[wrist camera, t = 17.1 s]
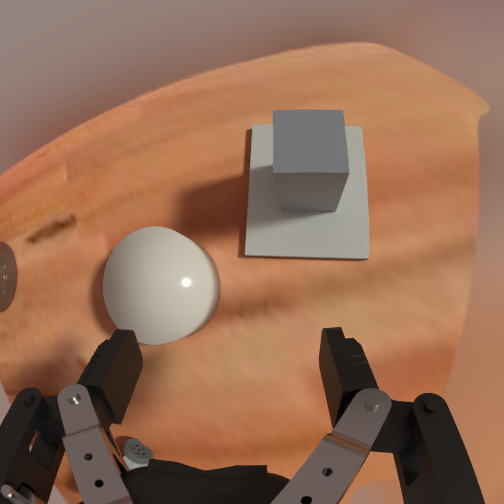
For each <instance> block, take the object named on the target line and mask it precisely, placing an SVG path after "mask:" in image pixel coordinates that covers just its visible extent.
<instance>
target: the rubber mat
mask: <svg viewBox="0 0 504 504" xmlns="http://www.w3.org/2000/svg"><path fill="white" fill-rule="evenodd" d="M345 132H346V141H347V151H348V161H349V172H350V173H349V176H348V179H347V182H346V185H345V187H344V190H343V193H342V196H341V199H340V201H339V204H338V207H337V210H336V212H315V211H299V212H282V210H281V205H280V201H279V197H278V192H277V188H276V184H275V180H274V175H273V124H266V125H253V127H252V143H251V160H250V176H249V193H248V210H247V227H246V245H245V255H246V256H267V257H300V258H335V259H369V214H368V193H367V177H366V164H365V153H364V143H363V134H362V127H360V126H345Z"/></svg>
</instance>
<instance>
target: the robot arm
mask: <svg viewBox="0 0 504 504" xmlns="http://www.w3.org/2000/svg"><path fill="white" fill-rule="evenodd" d="M16 276H17V271H16V262H15V257H14V254H13V251H12V250H11V248H10V247H9V246H8V245H7V244H5V243H3V242H0V312H2V311H4V310H6V309H7V308H8V306H9V305H10V303H11V301H12V298H13V296H14V292H15V287H16ZM93 355H94V356H92V358H91V359H90V362H89V363H88V364H87V366H86V368H85V370H84V371H83V373H82V375H81V377H80V378H79V380H78V382H77V384H73V385H69V386H67V387H65V388H64V389H62V390H61V392H60V393H59V395H58V396H46V397H43V395H42V394H41V392H40V391H39V390H38V389H37V388H26V389H24V390H22V391H21V392H20V393H19V394H18V395H17V397H16V398H15V400H14V402H13V404H12V405H11V407H10V409H9V411H8V413H7V414H6V416H5V418H4V420H3V422H2V424H1V426H0V504H47V503H48V500H49V497H50V493H51V490H52V487H53V484H54V481H55V478H56V475H57V472H58V469H59V466H60V463H61V460H62V458H63V455H64V452H65V450H66V453H67V457H68V460H69V463H70V466H71V469H72V472H73V475H74V478H75V481H76V484H77V486H78V489H79V492H80V494H81V497H82V500H83V501H82V502H80V503H79V504H339V503H340V501H341V500H342V498H343V497H344V495H345V494H346V492H347V490H348V489H349V487H350V485H351V484H352V482H353V481H354V479H355V477H356V476H357V474H358V472H359V471H360V469H361V467H362V466H363V464H364V462H365V460H366V459H367V457H368V455H369V453H370V451H374V452H386V453H393V456H394V460H395V464H396V469H397V473H398V477H399V482H400V486H401V490H402V496H403V500H404V504H485V502H484V499H483V496H482V493H481V489H480V487H479V484H478V481H477V478H476V475H475V472H474V469H473V467H472V464H471V461H470V459H469V456H468V453H467V451H466V448H465V446H464V443H463V441H462V438H461V436H460V433H459V431H458V428H457V426H456V424H455V422H454V419H453V417H452V415H451V412H450V410H449V408H448V406H447V404H446V402H445V400H444V399H443V398H442V397H440V396H439V395H436V394H433V393H424V394H421V395H419V396H418V397H417V398H416V399H415V400H414V402H403V401H395V400H392V399H390V397H389V396H388V395H387V394H386V393H385V392H383V391H382V390H379V388H378V385H377V383H376V380H375V378H374V375H373V373H372V370H371V368H370V365H369V363H368V360H367V358H366V356H365V353H364V351H363V348H362V346H361V345H360V344H359V343H358V342H357V341H356V340H355V339H354V338H346V339H345V336H344V334H343V331H342V329H341V327H334V328H323V329H322V335H321V344H320V353H319V368H320V373H321V377H322V382H323V386H324V390H325V395H326V400H327V404H328V409H329V413H330V418H331V423H332V427H333V431H332V432H331V433H330V434H329V433H328V434H326V435H325V436H324V438H323V439H322V440H321V442H320V443H319V444H318V446H317V447H316V448H315V450H314V451H313V452H312V454H311V455H310V456H309V458H308V459H307V460H306V462H305V463H304V464H303V465H302V467H301V468H300V469H299V470H298V472H297V473H296V474H295V475H294V477H293V478H292V479H291V480H290V479H288V478H285V477H283V476H280V475H277V474H274V473H268V472H267V465H236V466H231V467H226V468H220V469H214V470H207V471H206V470H201V469H197V468H194V467H191V466H188V465H184V464H181V463H178V462H173V461H164V460H157V459H150V458H149V462H148V466H142V467H137V468H134V469H131V470H130V469H129V467H128V466H127V464H126V462H125V460H124V458H123V456H122V454H121V452H120V450H119V448H118V446H117V444H116V442H115V439H114V437H113V435H112V433H111V431H110V429H109V428H110V425H111V423H114V424H120V425H121V423H122V420H123V418H124V415H125V412H126V409H127V407H128V404H129V401H130V399H131V396H132V393H133V391H134V388H135V386H136V383H137V381H138V378H139V375H140V373H141V370H142V366H143V359H142V354H141V351H140V348H139V345H138V342H137V338H136V335H135V332H134V331H133V330H125V329H116V330H115V331H114V333H113V335H112V337H111V338H110V340H107V339H106V340H105V341H104V342H103V343H101V344H100V345H99V346H98V347H97V349H96V351H95V352H94V354H93ZM35 432H36V433H37V434H38V435H37V438H36V440H35V442H34V445H33V447H32V449H31V452H30V451H29V446H30V443H31V441H32V439H33V436H34V434H35Z"/></svg>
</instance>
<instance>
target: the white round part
mask: <svg viewBox="0 0 504 504" xmlns="http://www.w3.org/2000/svg"><path fill="white" fill-rule="evenodd" d="M103 297H104V302H105V305H106V308H107V311H108V313H109V315H110V317H111V319H112V321H113V322H114V324H115V325H116V326H117V327H118V328H119V329H125V330H133V331H134V332H135V335H136V338H137V342H140V343H144V344H149V345H160V344H165V343H169V342H172V341H176V340H179V339H183V338H186V337H189V336H191V335H193V334H195V333H197V332H199V331H200V330H201V329H202V328H204V327H205V326H206V325H207V323H208V322H209V321H210V320H211V318H212V317H213V315H214V313H215V311H216V308H217V306H218V302H219V298H220V277H219V273H218V270H217V267H216V265H215V263H214V261H213V259H212V258H211V256H210V255H209V254H208V252H207V251H206V250H205V249H204V248H203V247H201V246H200V245H199V244H197V243H195V242H194V241H192V240H190V239H188V238H187V237H185V236H183V235H181V234H179V233H178V232H176V231H174V230H171V229H169V228H164V227H156V226H154V227H146V228H142V229H139V230H136V231H134V232H132V233H131V234H129V235H128V236H126V237H125V238H124V239H123V240H122V241H120V242H119V244H118V245H117V246H116V247H115V249H114V250H113V252H112V253H111V255H110V257H109V259H108V261H107V264H106V267H105V271H104V276H103Z"/></svg>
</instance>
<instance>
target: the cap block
mask: <svg viewBox="0 0 504 504" xmlns="http://www.w3.org/2000/svg"><path fill="white" fill-rule="evenodd" d="M349 173H350V172H349V161H348V151H347V141H346V132H345V124H344V116H343V110H274V111H273V175H274V180H275V184H276V188H277V192H278V197H279V201H280V205H281V210H282V212H299V211H315V212H336V210H337V207H338V204H339V201H340V199H341V196H342V193H343V190H344V187H345V185H346V182H347V179H348V176H349Z"/></svg>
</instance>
